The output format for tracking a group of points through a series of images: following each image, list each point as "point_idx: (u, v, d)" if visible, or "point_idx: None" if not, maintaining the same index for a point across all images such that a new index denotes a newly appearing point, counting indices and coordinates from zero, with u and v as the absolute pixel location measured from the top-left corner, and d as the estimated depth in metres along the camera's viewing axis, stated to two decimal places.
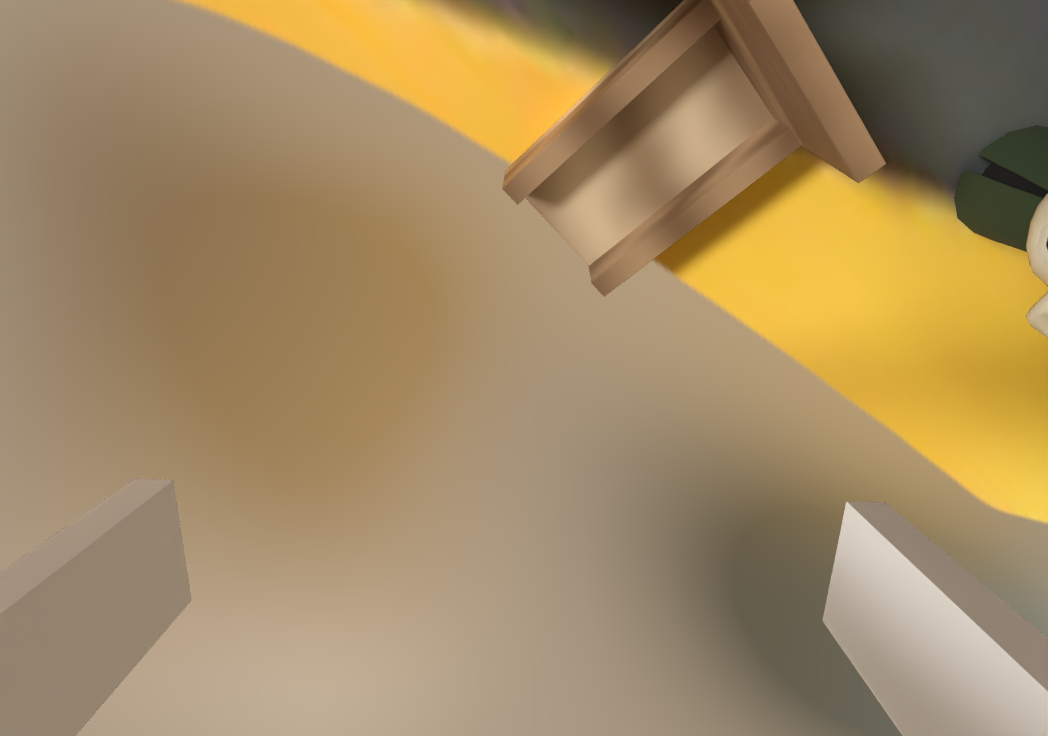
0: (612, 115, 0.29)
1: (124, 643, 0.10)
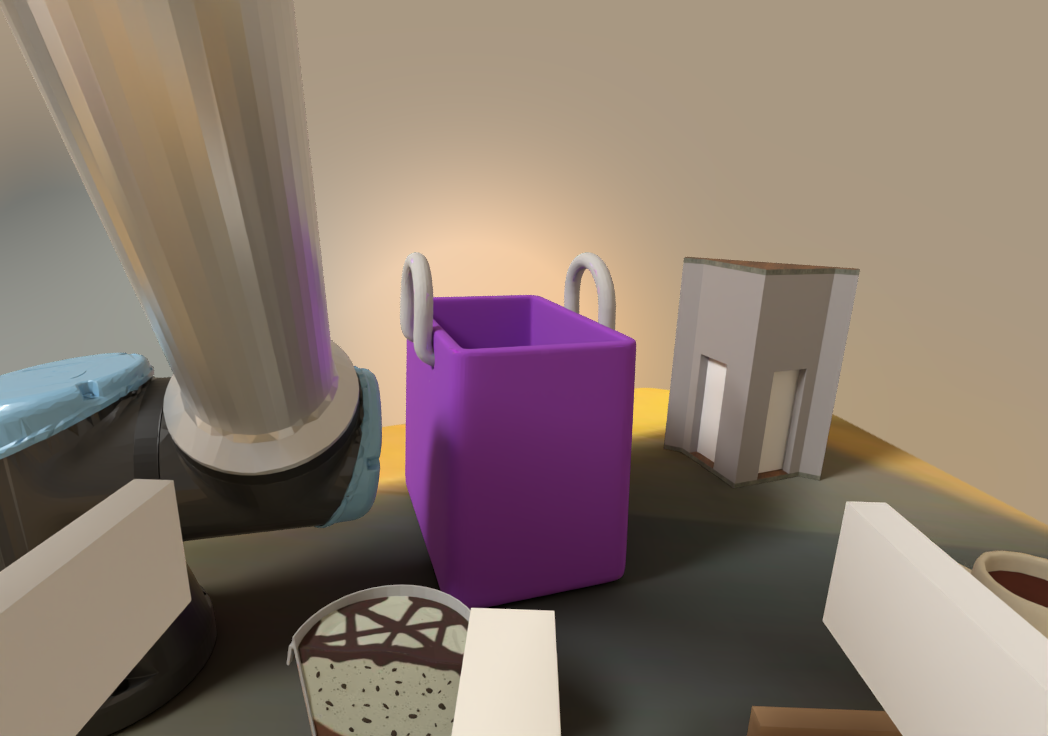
0: None
1: (124, 643, 0.10)
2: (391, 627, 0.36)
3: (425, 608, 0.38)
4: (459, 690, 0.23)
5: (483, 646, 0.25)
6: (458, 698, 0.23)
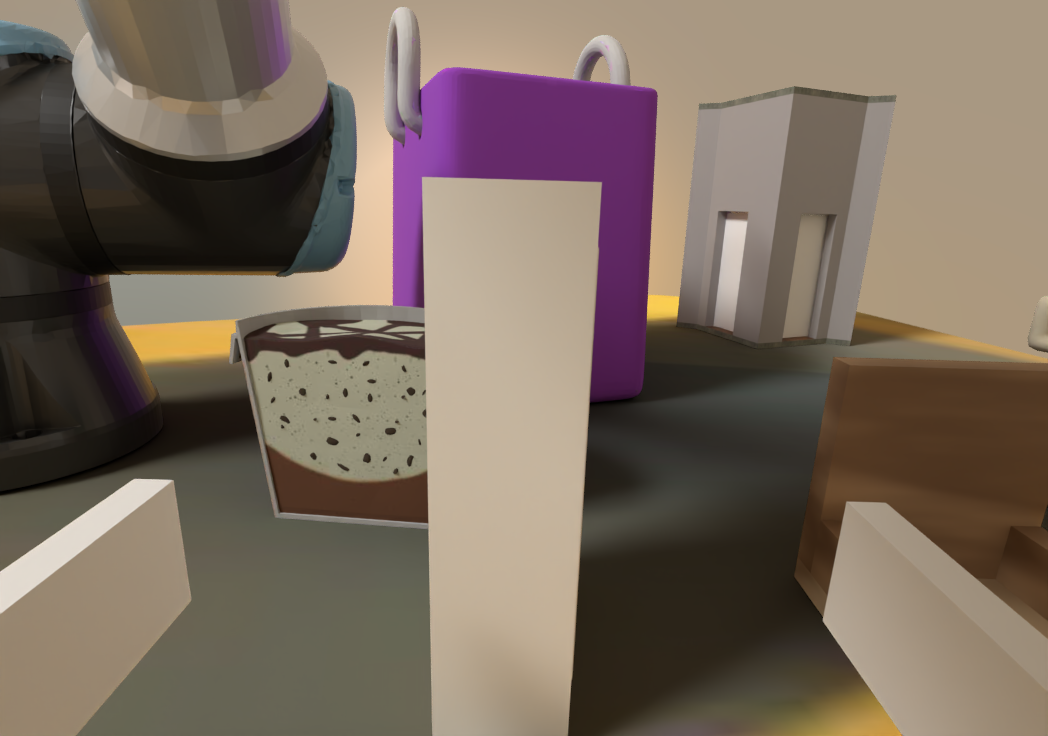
0: None
1: (124, 643, 0.10)
2: (364, 332, 0.29)
3: (407, 326, 0.30)
4: None
5: None
6: None
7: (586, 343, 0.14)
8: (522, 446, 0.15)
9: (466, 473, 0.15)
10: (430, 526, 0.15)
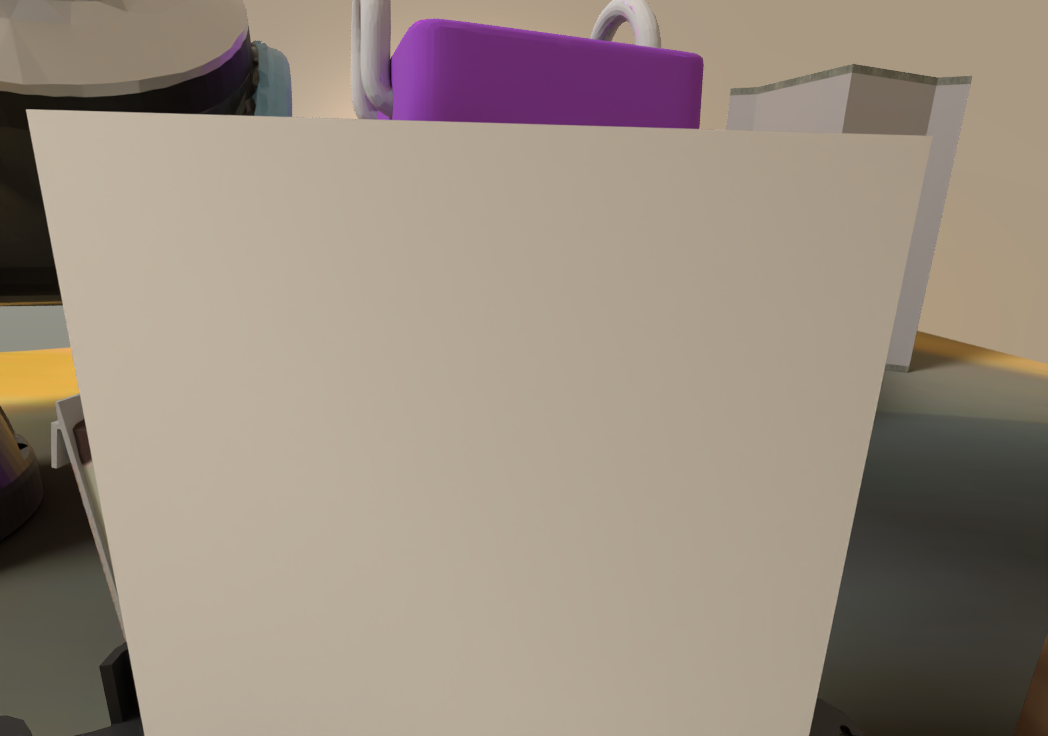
0: None
1: None
2: None
3: None
4: None
5: None
6: None
7: None
8: None
9: None
10: None
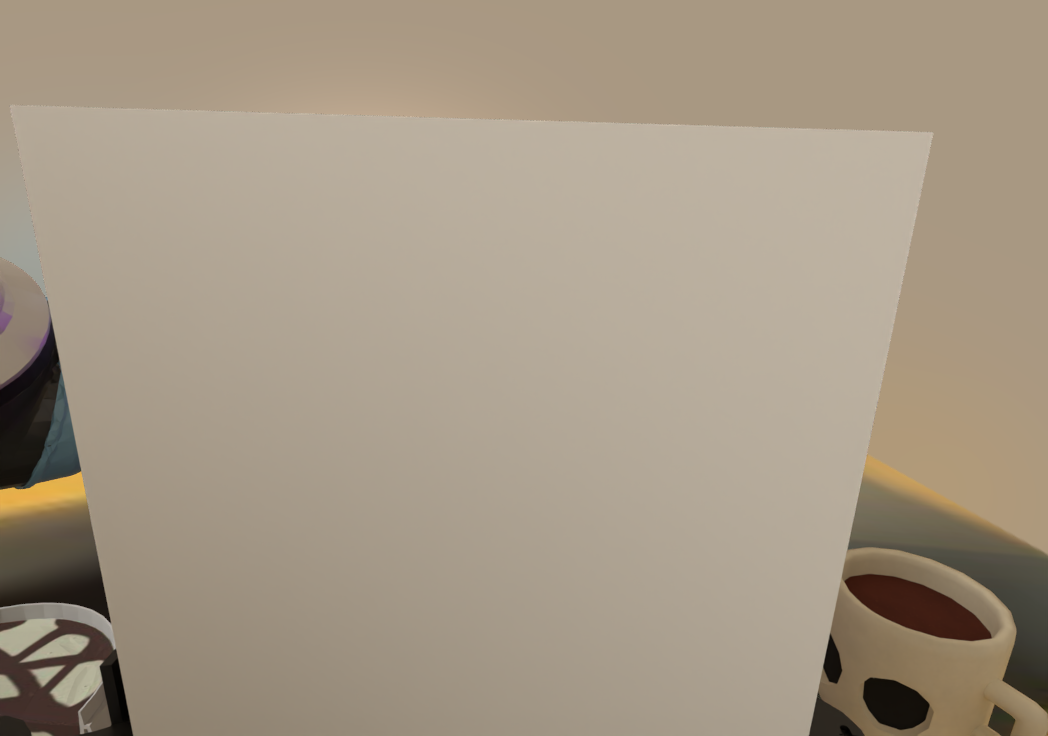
0: None
1: None
2: None
3: (69, 636, 0.27)
4: None
5: None
6: None
7: None
8: None
9: None
10: None
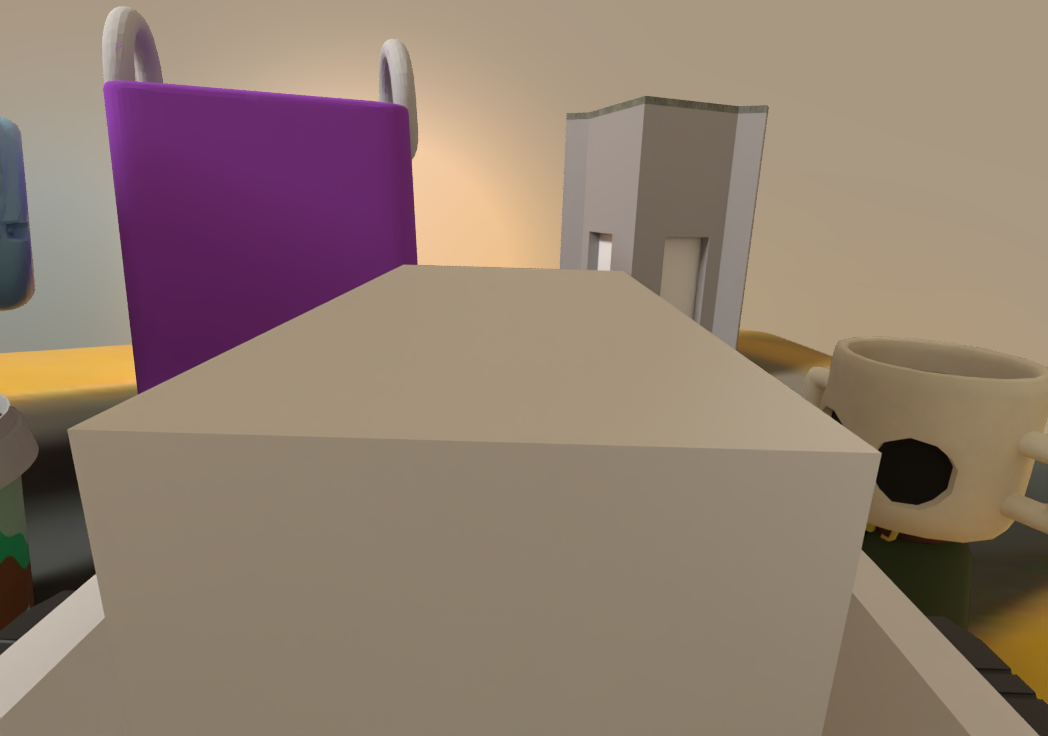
0: None
1: None
2: None
3: None
4: (307, 313, 0.06)
5: (424, 284, 0.08)
6: (293, 320, 0.05)
7: None
8: None
9: None
10: None
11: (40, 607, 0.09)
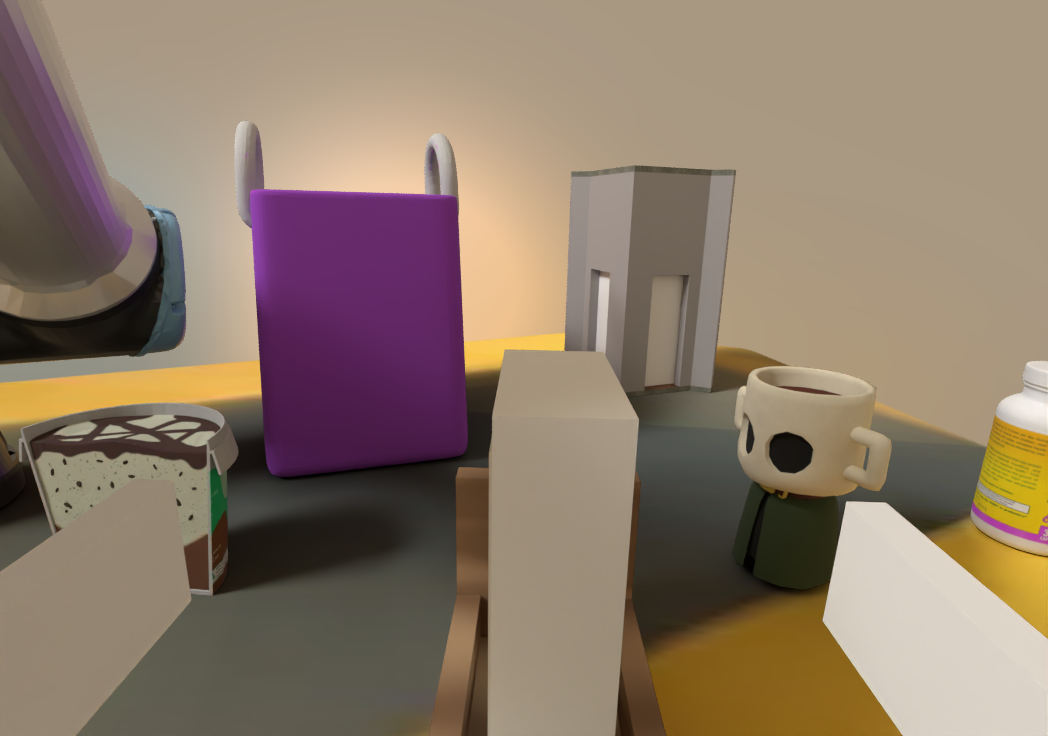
0: (464, 694, 0.24)
1: (124, 643, 0.10)
2: (138, 431, 0.35)
3: (186, 422, 0.37)
4: (499, 383, 0.19)
5: (524, 365, 0.21)
6: (499, 386, 0.18)
7: (625, 539, 0.17)
8: (571, 618, 0.17)
9: (524, 639, 0.18)
10: (492, 681, 0.18)
11: None
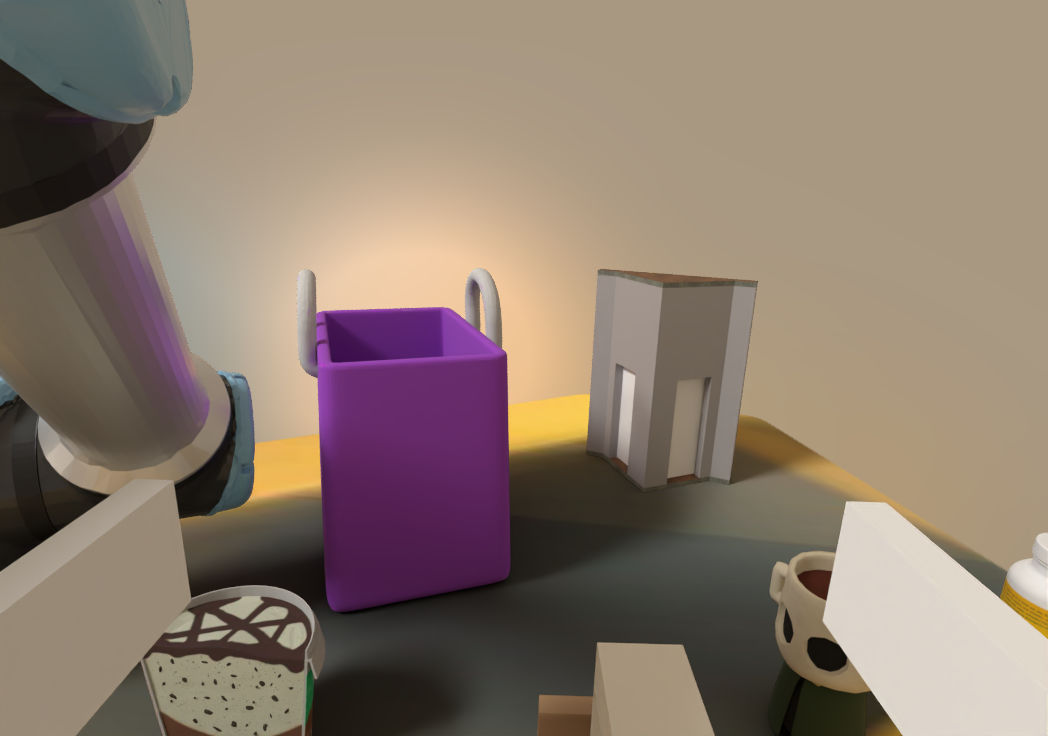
0: None
1: (124, 643, 0.10)
2: (234, 624, 0.39)
3: (273, 607, 0.40)
4: (613, 734, 0.22)
5: (622, 684, 0.25)
6: None
7: None
8: None
9: None
10: None
11: None
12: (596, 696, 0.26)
